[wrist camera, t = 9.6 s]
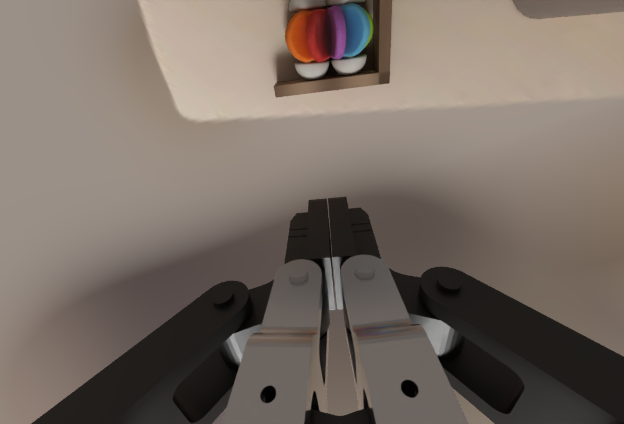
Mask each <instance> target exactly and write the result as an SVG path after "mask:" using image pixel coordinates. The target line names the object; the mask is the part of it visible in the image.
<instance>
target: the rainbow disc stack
mask: <svg viewBox="0 0 624 424" xmlns="http://www.w3.org/2000/svg"><path fill="white" fill-rule="evenodd" d="M364 1H365V0H327V1H326V0H290V3H289V11H290V12H297V13H296V14H295V15H294V16H293V17H292V18H291V19H290V21H289V23H288V25H287V28H286V31H285V40H286V44H287V46H288V48H289V50H290V52H291V53H292V55H293V56H294V57H295V58H297V59H298V60H300V61H301V62H297V63H295V68H296V70H297V72H298V74H299V75H300V76H301V77H302V78H304V79H306V80H314V79H319V78H321V77H323V76H324V75H325V73H326V72H327V70H328V67H329V60H327V59H329V57H331V58H333V59H332V60H331V63H332V65H333V67H334V69H335V70H336V71H337V72H338V73H339V74H341V75H352V74H356V73H358V72H359V71H360V70H361V69H362V68H363V66H364V64H365V62H366V58H367V55H366V54H359V53H360V52H361V51H362V50H363V49H364V48H365V47H366V46H367V45H368V43H369V42H370V40H371V38H372V35H373V20H372V18H371V16H370V14H369V13H368V12H367V11H366V10H365V9H364V8H363V7H362V6H359V5H357V3H361V2H364ZM326 7H330V8H328V9H327V10H326V9H324V8H326Z"/></svg>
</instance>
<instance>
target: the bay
mask: <svg viewBox="0 0 624 424" xmlns="http://www.w3.org/2000/svg"><path fill="white" fill-rule="evenodd" d="M391 15H392V0H373V70H369V71H361V72H358V73H356V74H352V75H341V74H338V75H330V76H323V77H321V78H319V79H314V80H306V79H299V80H291V81H284V82H277V83H276V84H275V86H274V90H275V96H276V97H283V96H291V95H299V94H307V93H315V92H323V91H331V90H339V89H347V88H355V87H363V86H371V85H379V84H387V83H389V80H390V48H391Z"/></svg>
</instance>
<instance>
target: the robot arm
mask: <svg viewBox="0 0 624 424" xmlns="http://www.w3.org/2000/svg"><path fill="white" fill-rule="evenodd" d="M513 2H514V4H515V6H516V7H517V9H518V10H519V11H520V12H521V13H522V14H523V15H525V16H527V17H530V18H536V19H543V18H555V17H568V16H579V15H590V14H602V13H613V12H624V0H513ZM328 203H329V216H330V229H331V240H330V229H329V218H328V208H327V199H316V200H309V206H308V212H307V213H297V214H296V215H295V216H294V217H293V219H292V220H291V222H290V229H289V230H290V231H289V236H288V243H287V250H286V257H285V264H284V265H283V266H282V267H281V268H280V269H279V270H278V271H277V273H276V275H275V279H274V280H273V281H271V282H269V283H267V284H265V285H262V286H259V287H256V288H253V289H250V290H248V288H247V287H246V285H244V284H243V283H241V282H238V281H226V282H222V283H219V284H217V285H215V286H213V287H212V288H210V289H209V290H208V291H206V292H205V293H204V294H202V295H201V296H200V297H198V298H197V299H196V300H195V301H193V302H192V303H191V304H189V305H188V306H187V307H185V308H184V309H183V310H181V311H180V312H179V313H177V314H176V315H175V316H173V317H172V318H171V319H169V320H168V321H167V322H165V323H164V324H163V325H161V326H160V327H159V328H157V329H156V330H155V331H153V332H152V333H151V334H149V335H148V336H147V337H146V338H144V339H143V340H142V341H140V342H139V343H138V344H136V345H135V346H134V347H132V348H131V349H130V350H128V351H127V352H126V353H124V354H123V355H122V356H120V357H119V358H118V359H116V360H115V361H114V362H112V363H111V364H110V365H108V366H107V367H106V368H104V369H103V370H102V371H100V372H99V373H98V374H97V375H95V376H94V377H93V378H91V379H90V380H89V381H87V382H86V383H85V384H83V385H82V386H81V387H79V388H78V389H77V390H76V391H74V392H73V393H71V394H70V395H69V396H67V397H66V398H65V399H63V400H62V401H61V402H59V403H58V404H57V405H55V406H54V407H53V408H52V409H50V410H49V411H48V412H46V413H45V414H44V415H42V416H41V417H40V418H38V419H37V420H36V421H34V422H33V423H32V424H212V423H213V422H214V421H215V419H216V418H217V417H218V416H219V415H220V414H221V413H222V412H223V411H224V409H225V408H226V407H227V408H226V411H225V414H224V418H223V421H222V424H468V422H467V420H466V417H465V415H464V413H463V411H462V409H461V406H460V404H459V403H458V400H457V398H456V396H455V394H454V391H453V389H452V387H453V388H454V389H455V390H456V391H457V392H458V393H459V394H461V395H462V396H463V397H464V398H466V399H467V400H468V401H469V402H470V403H471V404H472V405H474V406H475V407H476V408H477V409H479V410H480V411H481V412H482V413H483V414H484V415H486V416H487V417H488V418H489V419H490V420H491V421H492V422H494V423H495V424H624V357H623V356H621V355H620V354H617V353H615V352H614V351H612V350H610V349H608V348H606V347H604V346H602V345H600V344H599V343H596V342H595V341H593V340H591V339H589V338H587V337H585V336H583V335H581V334H579V333H578V332H576V331H574V330H572V329H570V328H568V327H566V326H564V325H562V324H560V323H559V322H556V321H555V320H553V319H551V318H549V317H547V316H545V315H543V314H541V313H539V312H538V311H536V310H534V309H532V308H530V307H528V306H526V305H524V304H522V303H520V302H519V301H517V300H515V299H513V298H511V297H509V296H507V295H505V294H503V293H501V292H500V291H498V290H495V289H494V288H492V287H490V286H488V285H486V284H484V283H482V282H480V281H478V280H476V279H475V278H473V277H471V276H469V275H467V274H465V273H463V272H461V271H459V270H456V269H453V268H449V267H435V268H431V269H429V270H427V271H425V272H424V273H423V274H422V276H421V278H420V277H414V276H408V275H403V274H400V273H397V272H394V271H393V270H391V269H389V268H388V266H387V264H386V263H385V262H384V261H383V260H381V257H380V254H379V250H378V247H377V243H376V240H375V237H374V233H373V231H372V227H371V224H370V220H369V216H368V214H367V213H366V212H365V211H363V210H362V209H361V208H351V209H348V204H347V199H346V197H338V198H328ZM331 244H332V254H331ZM332 257H333V268H334V278H335V289H336V299H337V309H343V311H344V320H345V333H346V338H347V343H348V349H349V355H350V360H351V365H352V371H353V376H354V382H355V387H356V393H357V401H358V409H359V411H356V412H353V413H350V414H347V415H344V416H335V415H331V414H328V413H327V370H328V346H329V324H330V318H329V310H335V297H334V282H333V268H332Z"/></svg>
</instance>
